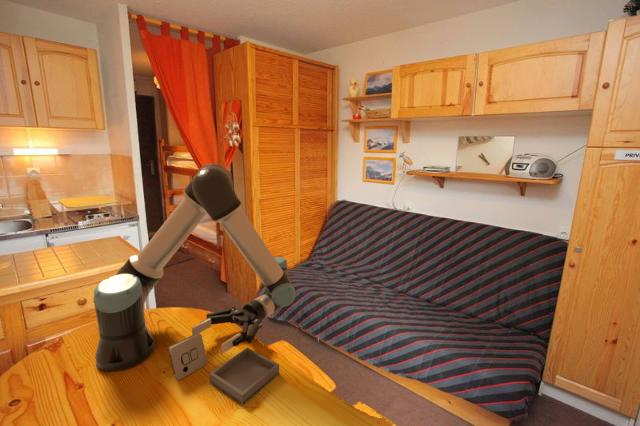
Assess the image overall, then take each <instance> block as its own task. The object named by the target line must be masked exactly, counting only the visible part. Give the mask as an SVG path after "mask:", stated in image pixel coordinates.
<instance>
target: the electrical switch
mask: <svg viewBox="0 0 640 426" xmlns="http://www.w3.org/2000/svg"><path fill="white" fill-rule="evenodd" d="M167 353H168V356H169V361H170V365H171V370H172V372H173V374H172V375H174V377H175V379H176V380H177V381H180V380H182V379H184V378H185V377H187V376H189V375H191V374H193V373H194V372H196V371H197V370H199V369H201V368H203V367H204V366H206V365H207V364H208V359H207V353H206V349H205V344H204V341H203V335H202V334H201V333H198V334H196V335H194V336H193V335H192V334H191V336H188V337H185V338H184V339H182V340H180V341H178V342H176V343H174V344H172V345H170V346H168V347H167Z"/></svg>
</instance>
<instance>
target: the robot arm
mask: <svg viewBox="0 0 640 426" xmlns="http://www.w3.org/2000/svg"><path fill="white" fill-rule="evenodd" d="M233 185H234V181H233V176H232V175H231V173H230V171H229V170H227V168H225V166H222V165H219V164H215V163H210V164H206V165H203V166H202V167H201V168H199V170H198V171H197V172H196V174H195V176H194V177H193V178H192V180H190V182H189V183H188V185H187V186H186V187H185V188H184V190H183V195H184V196H183V198H182V200H181V201H180V202H179V203H178V205H177V206H176V207H175V209H174V210H173V211H172V213H170V215H169V216H168V217H167V219H165V221H163V223H162V224H161V226H160V227H159V229H158V230H157V231H156V232H155V234H154V235H152V237H151V239H150V240H149V241H148V242H147V243H146V245H145V246H144V247H143V249H142V250H141V251H140V253H137V254H132V255H131V256H130V257H129V258H128V260H127V261H126V262H125V263H124V264H123V265H122V266H121V267H120V268H119V269H118V270H117V273H115V274H116V275H112V276H109V277H108V278H107V279H103V280H102V281H100V282H99V283H98V284H97V285H96V286H95V288H94V290H93V303H94V308H95V313H96V314H95V315H96V321H97V325H98V326H97V328H98V332H99V333H98V334H99V339H98V343H97V347H96V351H95V356H94V358H95V365H96V367H97V368H98V369H99V370H101V371H105V372H109V373H110V372H120V371H124V370H129V369H132V368H133V367H137V366H139V365H140V364H142V363H144V362H145V361H147V360H148V359H149V358H150V357H151V356H152V354H153V353H154V351H155V341H154V337H153V335H152V333H151V332H150V331H149V329H148V327H147V325H146V318H145V303H146V301H147V299H148V297H149V294H150V293H151V292H152V290H153V289H154V287H155V286H156V285H157V284H158V282H159V281H160V280H161V279H162V278H163V276H164V267H166V265H167V264H168V263H169V262H170V261H171V259H172V257H174V255H175V254H176V253H177V251H178V250H179V249H180V248H181V246H182V245H183V244H184V243H185V242H186V241H187V239H188V237H190V235H191V234H192V233H193V231H194V230H195V229H196V228H197V226H198V225H199V223H201V222H202V220H203V219H204V218H205V217H206V215H207V214H208V215H209V217H210V218H211V221H213V222H215V223H219V225H220V226H221V227H222V229H223V230H224V232H225V233H226V234H227V235H228V237H229V239H230V240H231V241H232V243H234V245H235V246H236V248H237V249H238V251H239V252H240V253H241V255H242V257H243V258H244V259H245V260H246V262H247V263H248V265H249V266H250V267H251V269H252V270H253V271H254V273H255V274H256V276H257V277H258V278H259V280H260V281H261V282H262V284H263V285H264V286H265V288H266V292H265V293H263V294H262V295H260V296H258V297H256V298H254V299H252V300H251V301H249V302H247V303H245V304H244V306H243V307H242V308H241V309H237V308H236V306H232V307H229V308H227V309H221V310H218V311H214V312H209V313H206V315H205V316H206V319H204V320H202V321H200V322H199V323H198V324H196V325H194V326H192V327H191V336H192V335H193V336H194V335H196V334H198V333H199V334H201V333H203V332H205V331H206V330H208V329H209V328H211V327H212V326H213V325H218V324H225V323H226V324H229V323H230V324H236V325H239V326H240V327H242V330H241V333H240V332H239V333H237V334H235V335H233V336H232V337H230V338H229V339H227V340H226V341H224V342H223V343H221V353H223V354H225V353H226V352H228V351H229V350H230V349H232V348H234V347H237V346H239V345H240V344H242V343H245V342H247V344H252V342H253V340H254V339H255V337H256V335H257V333H258V331H259V329H261V328H262V327H263V321H264V319H266V318H269V316H271V315H273V314H274V313H276V312H278V311H280V310H281V309H282V308H284V307H288V306H290V305H291V304H292V303H293V302H294V301H295V299H296V290H295V286H294V284H293V283H292V281H291V278H290V276H289V273H288V263H287V262H288V261H287V259H286V258H284V257H283V256H281V257H280V256H274V255H273V253H272V252H271V251H270V250H269V248H268V246H267V245H266V244H265V242H264V240H263V239H262V238H261V236H260V235H259V233H258V231H257V230H256V229H255V227H254V226H253V224H252V222H251V221H250V220H249V218H248V217H247V215H246V214H245V213H244V211H243V209H242V204H243V203H242V202H241V200H240V199H239V197H238V195H237V193H236V191H235V188H234V186H233ZM250 325H252V326H251V328H250V330H249V326H250ZM248 331H249V332H248Z"/></svg>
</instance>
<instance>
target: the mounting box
mask: <svg viewBox="0 0 640 426" xmlns="http://www.w3.org/2000/svg"><path fill="white" fill-rule="evenodd" d="M278 375H280V364H279V363H277V362H275V361H274V360H271V359H270V358H268V357H265V356H264V355H262V354H260V353H259V352H256V351H254V350H252V349H251V348H250V347H246V348H244V349H243V350H242V351H239V353H237V354H236V355H234V356H233V357H232V358H230V359H228V360H226V362H224V363H223V364H221V365H220V366H219V367H216V368H215V369H214V370H212V371H211V372H209V384H211V385H212V386H214V387H215V388H217V390H219V391H221V392H222V393H224V394H225V395H227V396H228V397H230V398H231V399H233V400H234V401H235V402H237V403H238V404H240V405H242V406H244V405H246V403H247V402H249V400H250V399H253V397H254V396H255V395H256V394H258V393H259V392H260V391H261V390H262V389H264V387H266V386H267V385H268V384H269V383H271V382H272V381H273V380H274V379H275V378H276V377H278Z"/></svg>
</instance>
